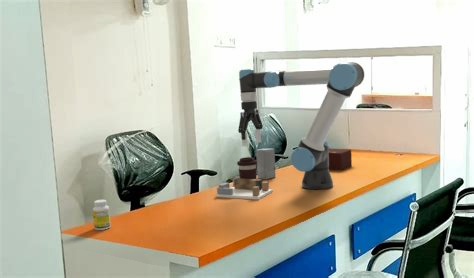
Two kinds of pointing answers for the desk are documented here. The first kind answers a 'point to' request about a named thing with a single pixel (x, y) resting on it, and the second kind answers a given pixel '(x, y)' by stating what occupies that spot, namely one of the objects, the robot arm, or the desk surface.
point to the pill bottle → (101, 215)
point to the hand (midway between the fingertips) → (251, 144)
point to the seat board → (243, 191)
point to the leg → (247, 183)
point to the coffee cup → (247, 168)
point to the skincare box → (265, 163)
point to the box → (339, 159)
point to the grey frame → (235, 178)
